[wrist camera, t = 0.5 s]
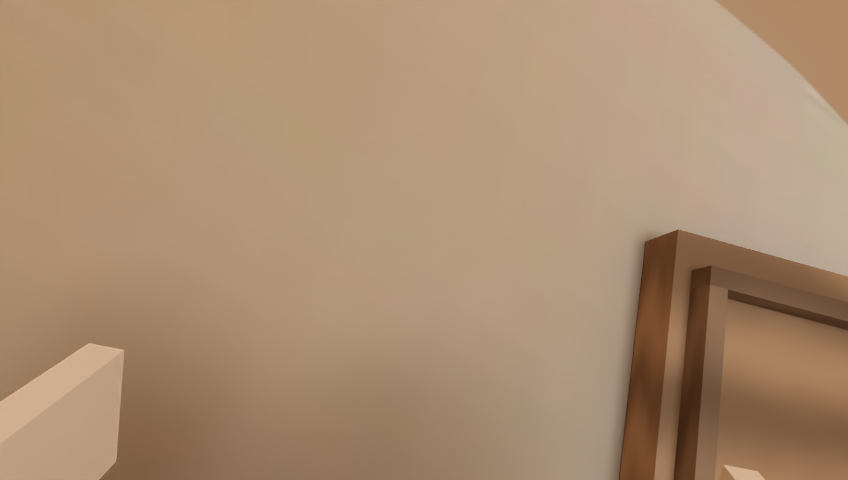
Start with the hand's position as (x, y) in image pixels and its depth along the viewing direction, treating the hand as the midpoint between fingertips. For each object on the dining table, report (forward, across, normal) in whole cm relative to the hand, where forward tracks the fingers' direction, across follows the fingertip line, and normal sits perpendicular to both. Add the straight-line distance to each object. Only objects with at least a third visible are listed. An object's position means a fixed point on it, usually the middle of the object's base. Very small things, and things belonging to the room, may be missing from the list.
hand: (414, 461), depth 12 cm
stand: (+18, -20, +6) cm, 27 cm away
